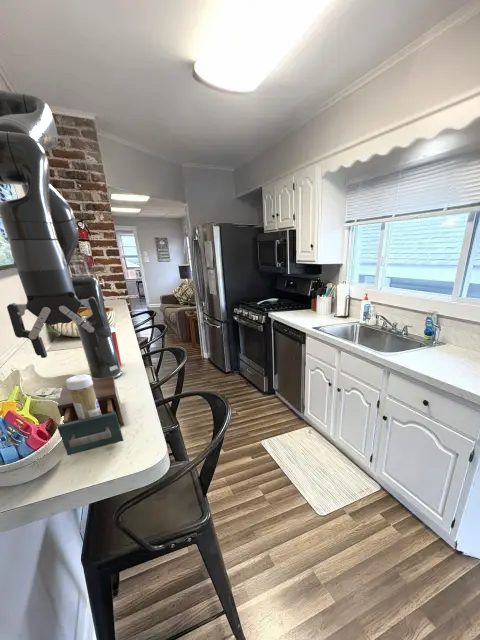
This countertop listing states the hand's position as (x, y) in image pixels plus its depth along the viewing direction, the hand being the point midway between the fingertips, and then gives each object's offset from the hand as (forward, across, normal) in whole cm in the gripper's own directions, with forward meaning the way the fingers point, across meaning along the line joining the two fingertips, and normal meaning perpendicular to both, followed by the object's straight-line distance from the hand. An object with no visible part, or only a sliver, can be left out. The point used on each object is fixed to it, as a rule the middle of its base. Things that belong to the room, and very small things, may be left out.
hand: (70, 353), depth 62 cm
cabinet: (+21, 0, -11) cm, 24 cm away
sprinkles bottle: (+19, 0, 0) cm, 19 cm away
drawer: (+20, 0, +1) cm, 20 cm away
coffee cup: (+21, -5, -57) cm, 61 cm away
